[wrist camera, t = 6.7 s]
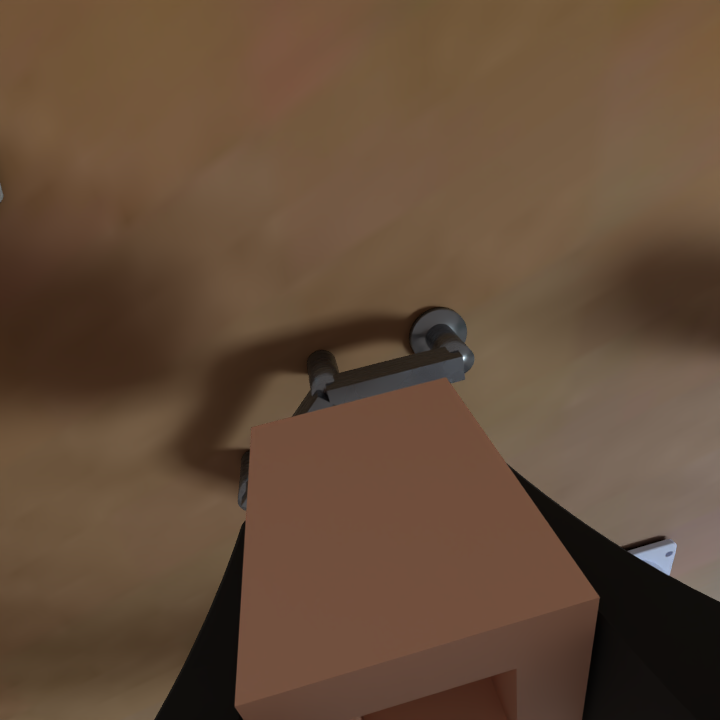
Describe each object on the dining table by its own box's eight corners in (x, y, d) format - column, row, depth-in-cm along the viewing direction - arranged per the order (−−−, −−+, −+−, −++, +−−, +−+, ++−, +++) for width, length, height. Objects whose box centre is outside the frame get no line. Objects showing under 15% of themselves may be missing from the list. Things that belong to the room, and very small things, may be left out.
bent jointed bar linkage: (475, 483, 23) (501, 528, 21) (273, 538, 23) (274, 593, 20) (461, 301, 18) (494, 330, 16) (201, 365, 17) (188, 408, 15)
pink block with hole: (459, 512, 14) (576, 751, 8) (301, 556, 13) (321, 835, 8) (446, 377, 11) (599, 597, 6) (251, 426, 11) (234, 706, 6)
